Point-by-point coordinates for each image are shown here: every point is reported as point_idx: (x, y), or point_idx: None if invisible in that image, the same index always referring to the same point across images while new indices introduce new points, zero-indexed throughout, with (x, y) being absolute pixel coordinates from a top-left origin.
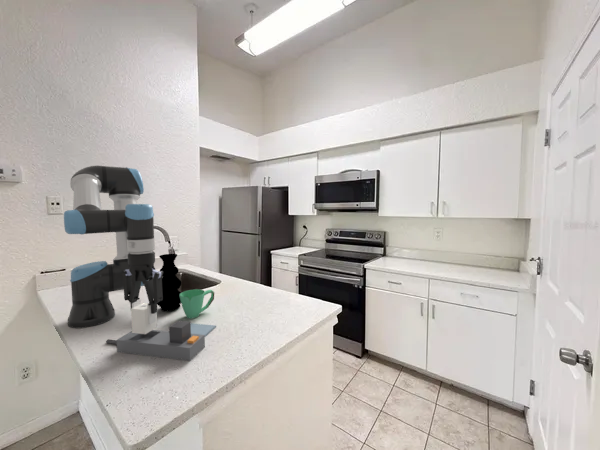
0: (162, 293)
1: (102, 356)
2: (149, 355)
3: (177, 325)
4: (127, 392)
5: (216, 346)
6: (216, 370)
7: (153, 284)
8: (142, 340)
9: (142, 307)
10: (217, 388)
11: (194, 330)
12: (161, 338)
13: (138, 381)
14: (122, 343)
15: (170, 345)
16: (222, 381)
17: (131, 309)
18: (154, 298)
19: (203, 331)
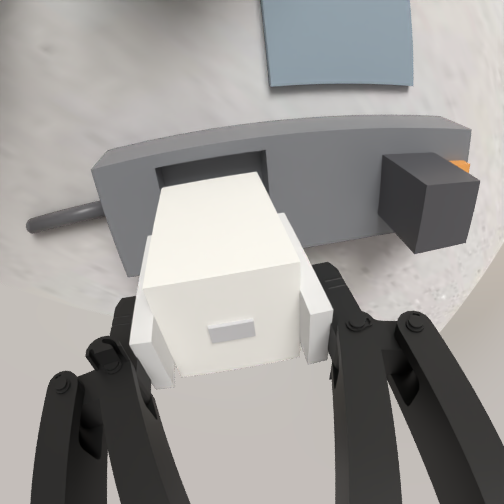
0: (455, 360)
1: (121, 278)
2: None
3: (443, 231)
4: None
5: (469, 109)
6: (490, 213)
7: (442, 501)
8: None
9: (245, 344)
10: (495, 255)
11: (339, 4)
12: (322, 201)
13: None
14: None
15: (392, 230)
16: (501, 238)
17: (186, 372)
18: (397, 390)
19: (387, 11)
